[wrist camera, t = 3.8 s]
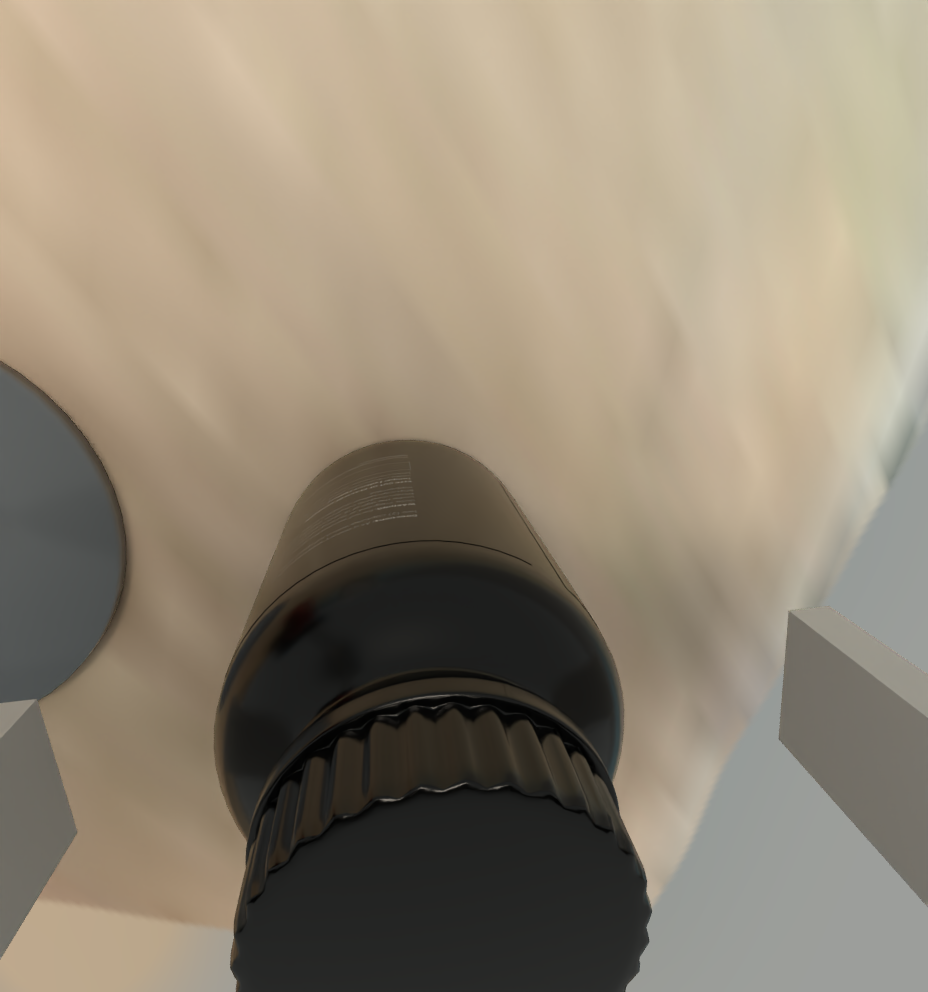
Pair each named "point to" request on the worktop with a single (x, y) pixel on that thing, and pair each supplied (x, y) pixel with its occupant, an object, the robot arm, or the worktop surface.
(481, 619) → the supplement bottle
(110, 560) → the coaster
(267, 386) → the worktop surface
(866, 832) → the robot arm
